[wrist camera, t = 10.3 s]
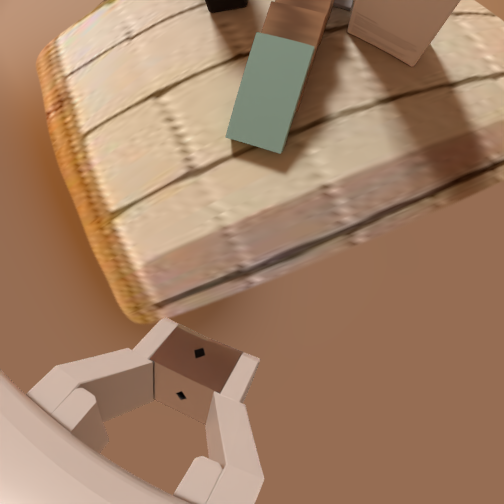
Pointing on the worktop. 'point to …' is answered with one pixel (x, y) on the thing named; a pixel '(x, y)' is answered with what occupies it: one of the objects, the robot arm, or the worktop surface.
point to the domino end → (269, 92)
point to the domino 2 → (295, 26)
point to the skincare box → (400, 24)
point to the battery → (224, 4)
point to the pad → (343, 4)
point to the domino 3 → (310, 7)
